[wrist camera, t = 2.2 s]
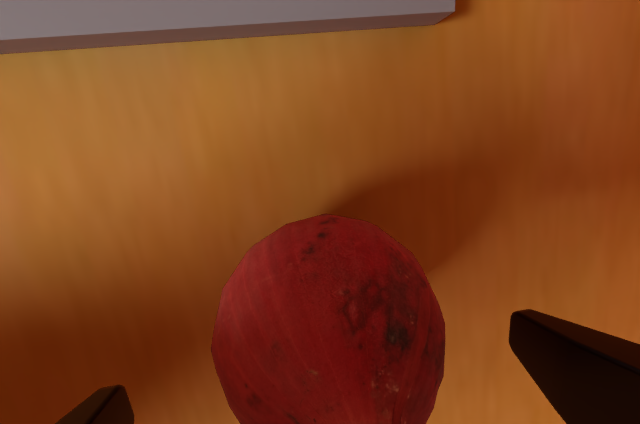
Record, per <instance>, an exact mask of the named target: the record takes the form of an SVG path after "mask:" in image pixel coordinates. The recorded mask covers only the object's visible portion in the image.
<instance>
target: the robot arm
mask: <svg viewBox="0 0 640 424" xmlns="http://www.w3.org/2000/svg"><path fill="white" fill-rule="evenodd" d="M509 344H510V347H511V349H512V351H513V352H514V354H515V355H516V356H517V358H518V359H519V361H520V362H521V363H522V365H523V366H524V367H525V369H526V370H527V372H528V373H529V374H530V376H531V377H532V379H533V380H534V381H535V383H536V384H537V385H538V387H539V388H540V390H541V391H542V392H543V394H544V395H545V396H546V398H547V399H548V401H549V402H550V403H551V405H552V406H553V407H554V409H555V410H556V411H557V413H558V414H559V415H560V416H561V417H562V419H563V420H564V421H565V422H566V424H640V344H637V343H634V342H631V341H628V340H625V339H622V338H618V337H615V336H612V335H609V334H606V333H603V332H600V331H597V330H594V329H591V328H587V327H584V326H581V325H578V324H575V323H572V322H569V321H566V320H563V319H559V318H556V317H553V316H550V315H547V314H544V313H541V312H538V311H535V310H531V309H526V310H520V311H515V312H513V313H512V315H511V319H510V330H509ZM55 424H134V413H133V410H132V407H131V404H130V401H129V398H128V395H127V392H126V390H125V388H124V387H123V386H122V385H114V386H109V387H104V388H101V389H99V390H97V391H96V392H95V393H93V394H92V395H91V396H90V397H88V398H87V399H86V400H84V401H83V402H82V403H81V404H79V405H78V406H77V407H76V408H74V409H73V410H72V411H70V412H69V413H68V414H67V415H65V416H64V417H63V418H62V419H60V420H59V421H58V422H56V423H55Z"/></svg>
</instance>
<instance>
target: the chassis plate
mask: <svg viewBox="0 0 640 424" xmlns="http://www.w3.org/2000/svg"><path fill="white" fill-rule="evenodd" d="M453 12H455V0H0V54H8V53H22V52H37V51H52V50H67V49H82V48H96V47H111V46H126V45H141V44H156V43H170V42H185V41H200V40H215V39H230V38H244V37H259V36H274V35H289V34H304V33H318V32H333V31H348V30H363V29H378V28H392V27H407V26H422V25H435V24H436V23H438V22H439V21H441V20H442V19H444V18H446V17H447V16H449V15H450V14H452V13H453Z"/></svg>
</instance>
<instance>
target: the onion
mask: <svg viewBox="0 0 640 424" xmlns="http://www.w3.org/2000/svg"><path fill="white" fill-rule="evenodd" d="M211 352H212V356H213V360H214V364H215V368H216V371H217V374H218V377H219V379H220V382H221V385H222V388H223V390H224V393H225V396H226V398H227V401H228V404H229V406H230V408H231V410H232V411H233V413H234V415H235V416H236V418H237V419H238V421H239V422H240V423H241V424H426V422H427V420H428V418H429V416H430V414H431V412H432V410H433V408H434V404H435V400H436V396H437V391H438V389H439V386H440V384H441V381H442V379H443V374H444V355H445V322H444V319H443V316H442V312H441V309H440V306H439V304H438V301H437V299H436V297H435V295H434V293H433V291H432V289H431V286H430V284H429V282H428V280H427V278H426V276H425V274H424V271H423V269H422V267H421V266H420V264H419V263H418V261H417V260H416V258H415V257H414V255H413V254H412V252H410V251H409V250H408V249H406V248H405V247H404V246H402V245H401V244H400V243H398V242H397V241H396V240H395V239H393V238H392V237H391V236H389V235H388V234H387V233H385V232H384V231H383V230H381V229H380V228H379V227H377V226H376V225H373V224H371V223H369V222H367V221H363V220H358V219H352V218H347V217H341V216H335V215H330V214H322V215H319V216H315V217H311V218H307V219H304V220H300V221H296V222H292V223H288V224H286V225H284V226H283V227H281V228H279V229H278V230H276V231H275V232H273V233H272V234H270V235H269V236H267V237H266V238H264V239H263V240H261V241H260V242H258V243H256V244H255V245H254V246H253V247H252V248H251V249H250V250H249V251H248V252H247V253H246V254H245V256H244V257H243V259H242V260H241V262H240V263H239V265H238V266H237V268H236V269H235V271H234V272H233V274H232V275H231V277H230V278H229V280H228V281H227V283H226V284H225V286H224V287H223V290H222V295H221V299H220V304H219V308H218V313H217V317H216V322H215V326H214V332H213V338H212V345H211Z"/></svg>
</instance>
